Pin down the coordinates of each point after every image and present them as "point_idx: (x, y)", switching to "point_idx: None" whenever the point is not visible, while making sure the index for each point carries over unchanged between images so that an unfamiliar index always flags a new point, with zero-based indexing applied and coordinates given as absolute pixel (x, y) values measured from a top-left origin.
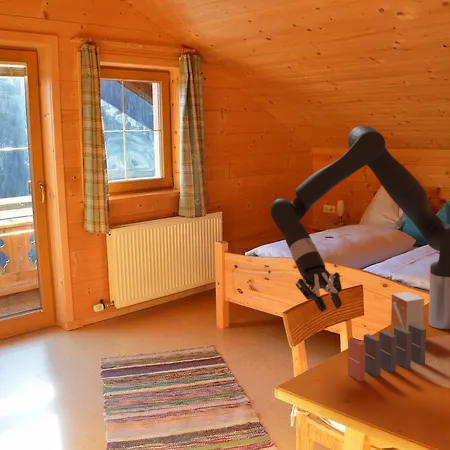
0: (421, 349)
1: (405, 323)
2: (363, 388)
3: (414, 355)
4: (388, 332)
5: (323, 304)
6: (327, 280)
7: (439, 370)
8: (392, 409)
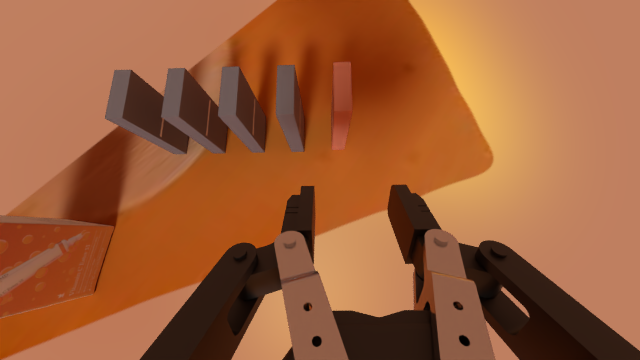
0: None
1: (63, 227)
2: (354, 91)
3: (180, 130)
4: (220, 96)
5: (408, 195)
6: (320, 331)
7: None
8: (357, 20)
